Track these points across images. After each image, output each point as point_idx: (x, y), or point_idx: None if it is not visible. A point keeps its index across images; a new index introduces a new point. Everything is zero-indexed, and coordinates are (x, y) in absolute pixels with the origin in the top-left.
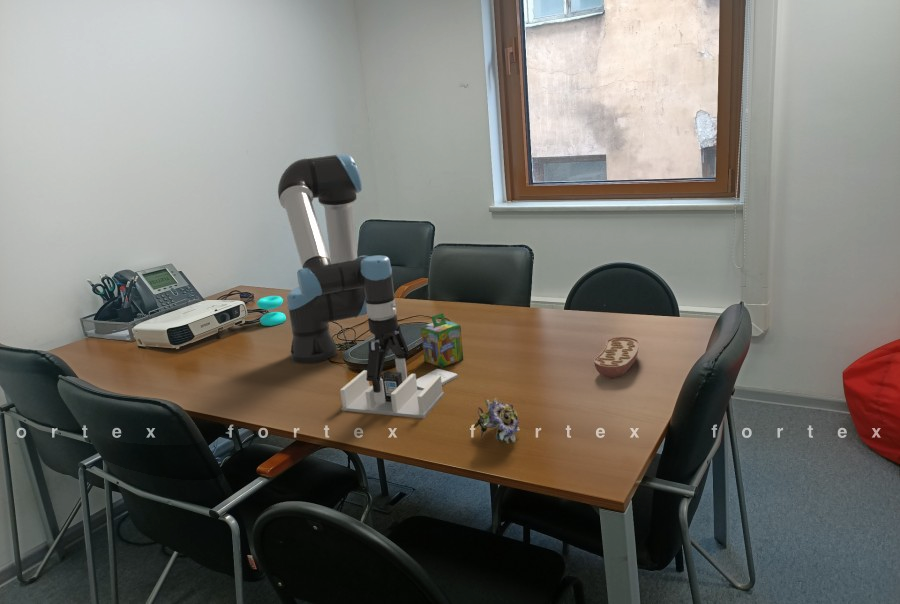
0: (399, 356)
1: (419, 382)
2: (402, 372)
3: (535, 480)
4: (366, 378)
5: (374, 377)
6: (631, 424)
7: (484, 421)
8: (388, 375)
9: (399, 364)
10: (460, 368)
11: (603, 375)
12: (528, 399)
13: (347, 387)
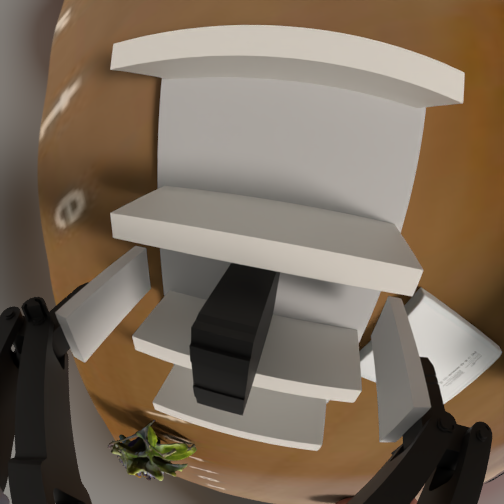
0: (416, 434)
1: (419, 338)
2: (383, 359)
3: (107, 426)
4: (2, 314)
5: (17, 354)
6: (230, 490)
7: (118, 446)
8: (194, 367)
9: (393, 391)
10: (484, 389)
11: (340, 502)
12: (289, 470)
13: (144, 63)
